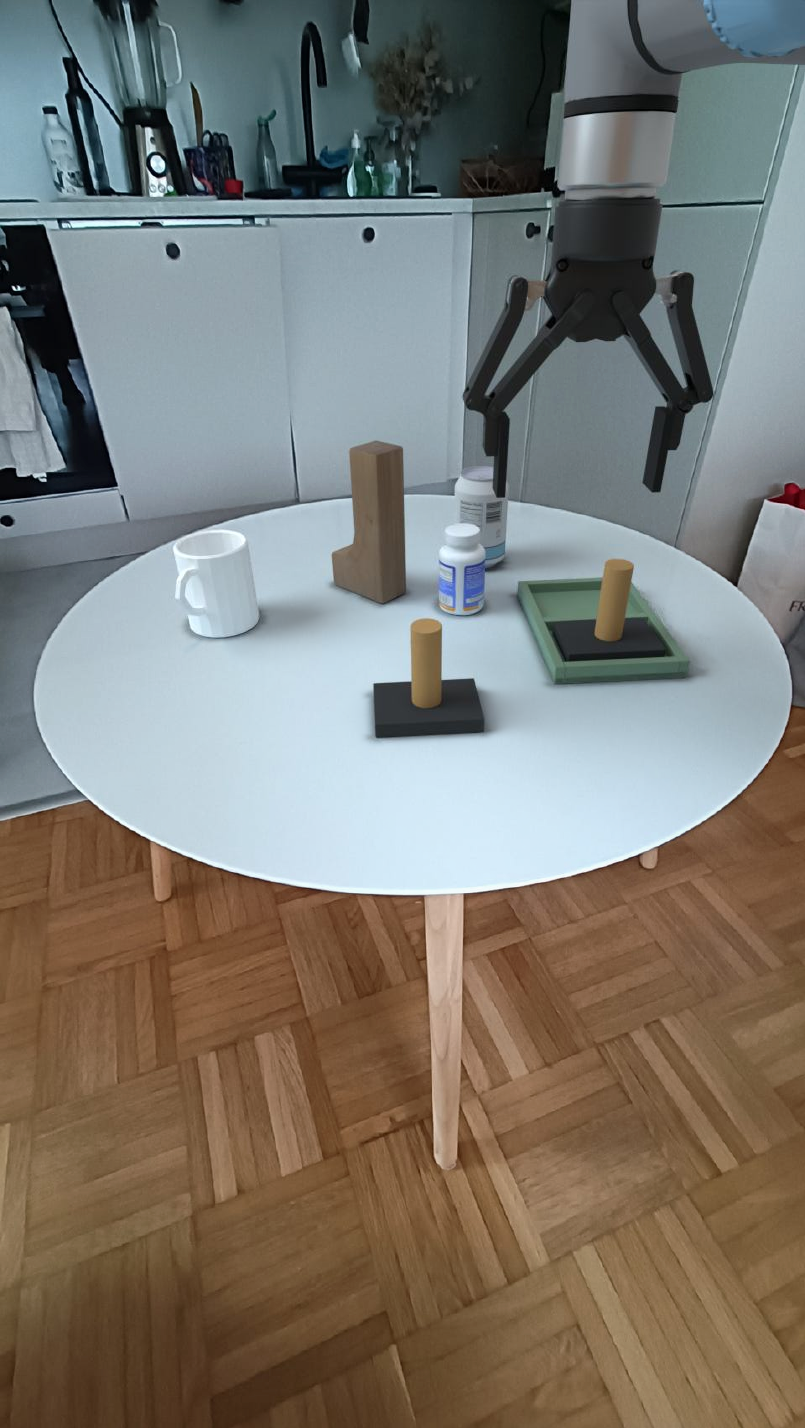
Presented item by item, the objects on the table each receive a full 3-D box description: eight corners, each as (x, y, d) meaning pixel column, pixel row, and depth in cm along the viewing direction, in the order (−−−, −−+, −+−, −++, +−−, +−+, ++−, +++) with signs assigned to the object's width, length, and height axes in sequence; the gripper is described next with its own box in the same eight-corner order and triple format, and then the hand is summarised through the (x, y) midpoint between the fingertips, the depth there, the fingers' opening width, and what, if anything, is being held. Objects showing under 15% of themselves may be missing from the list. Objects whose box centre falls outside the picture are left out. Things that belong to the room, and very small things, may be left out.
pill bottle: (484, 597, 89) (487, 520, 83) (482, 617, 84) (486, 538, 79) (440, 595, 89) (441, 519, 84) (436, 615, 85) (436, 537, 79)
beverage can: (503, 552, 100) (509, 464, 93) (504, 572, 95) (510, 481, 88) (454, 551, 101) (456, 464, 94) (452, 571, 95) (453, 480, 88)
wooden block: (332, 584, 93) (320, 440, 82) (357, 573, 95) (348, 432, 85) (382, 605, 88) (376, 454, 77) (407, 593, 90) (404, 445, 80)
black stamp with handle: (663, 662, 74) (682, 576, 68) (567, 666, 74) (578, 581, 68) (641, 629, 80) (657, 548, 74) (552, 633, 79) (561, 552, 74)
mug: (158, 650, 80) (137, 567, 74) (212, 602, 89) (197, 526, 84) (222, 659, 78) (205, 575, 72) (270, 610, 87) (259, 532, 82)
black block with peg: (483, 732, 66) (488, 642, 61) (375, 737, 66) (370, 647, 60) (473, 690, 72) (476, 604, 66) (373, 695, 72) (368, 609, 66)
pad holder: (686, 677, 73) (690, 660, 72) (553, 684, 72) (555, 667, 71) (625, 590, 89) (627, 576, 88) (516, 595, 89) (517, 581, 88)
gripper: (759, 191, 55) (698, 472, 67) (432, 200, 54) (432, 481, 67) (808, 189, 48) (731, 499, 61) (439, 199, 48) (437, 509, 60)
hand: (575, 490), depth 64 cm, fingers open, 13 cm apart
